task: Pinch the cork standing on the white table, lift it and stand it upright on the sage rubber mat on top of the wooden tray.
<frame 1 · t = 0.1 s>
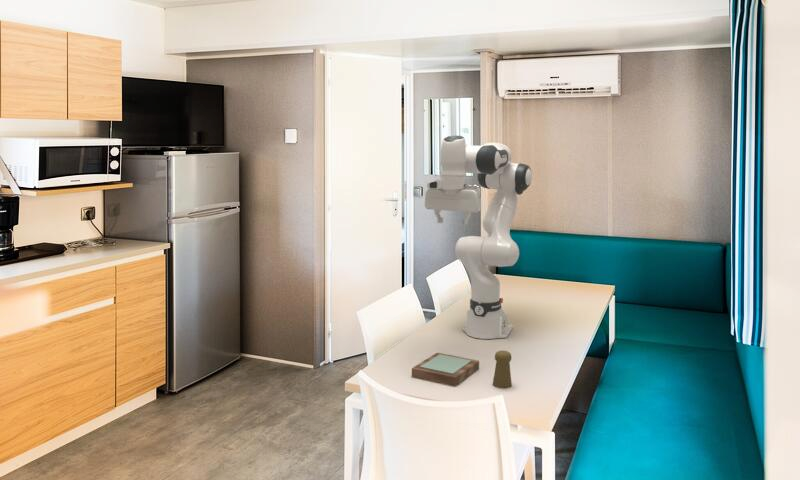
hand: (452, 223, 225), 48 cm above the table, fingers open, 8 cm apart
wooden tray: (445, 372, 217), on the table
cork: (502, 385, 207), on the table
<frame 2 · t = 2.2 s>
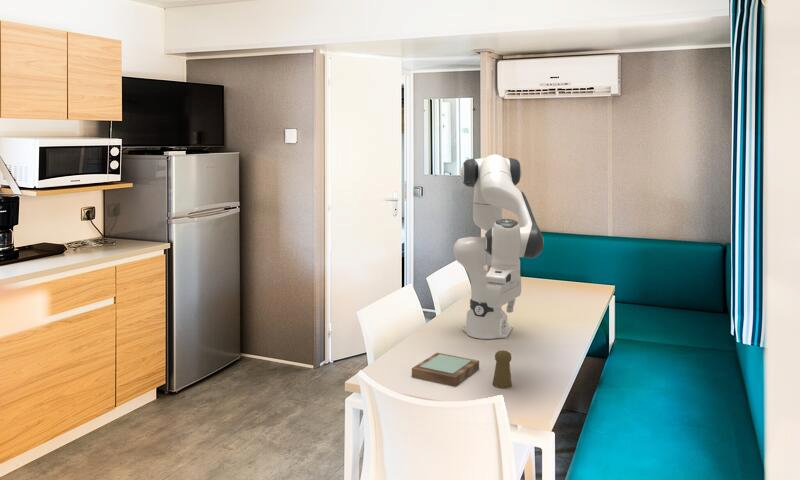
hand: (504, 315, 203), 23 cm above the table, fingers open, 8 cm apart
nothing on the table moved.
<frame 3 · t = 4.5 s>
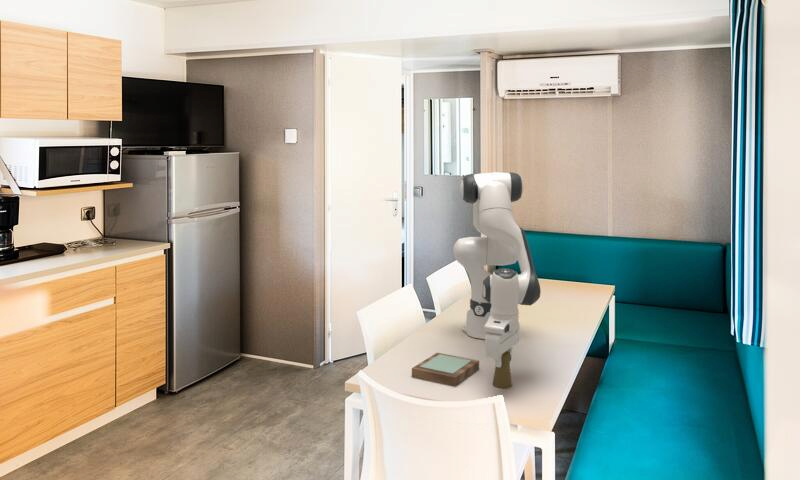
hand: (502, 363, 206), 7 cm above the table, fingers closed on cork, 5 cm apart
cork: (502, 385, 207), on the table, touching gripper
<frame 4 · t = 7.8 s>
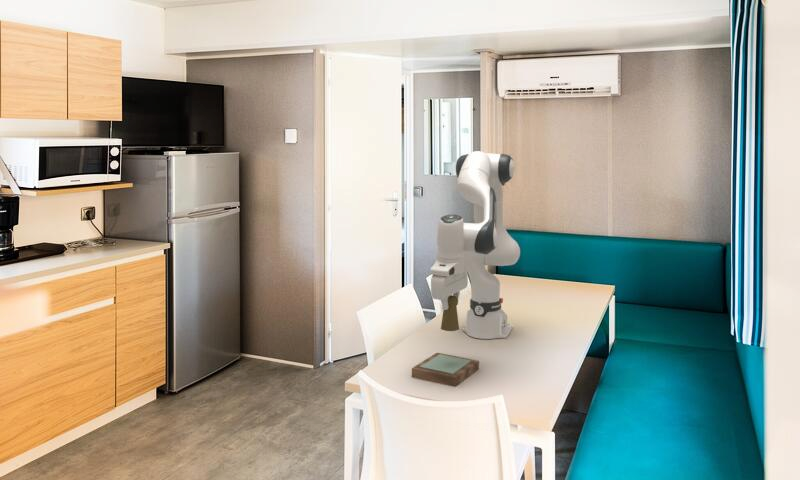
hand: (450, 306, 213), 23 cm above the table, fingers closed on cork, 5 cm apart
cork: (449, 328, 214), point 15 cm above the table, touching gripper
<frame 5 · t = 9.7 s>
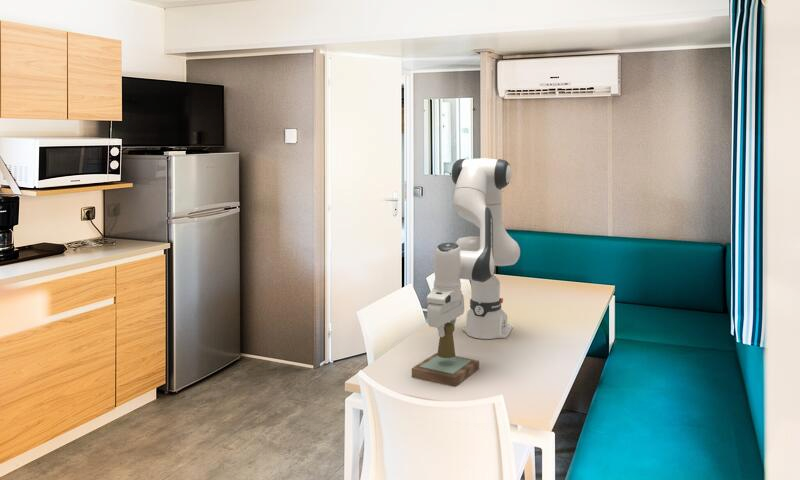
hand: (446, 333, 215), 14 cm above the table, fingers closed on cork, 5 cm apart
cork: (446, 355, 216), point 6 cm above the table, touching gripper
when the fingers open (11 cm above the table, at t = 11.1 s): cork stays where it is, resting on wooden tray.
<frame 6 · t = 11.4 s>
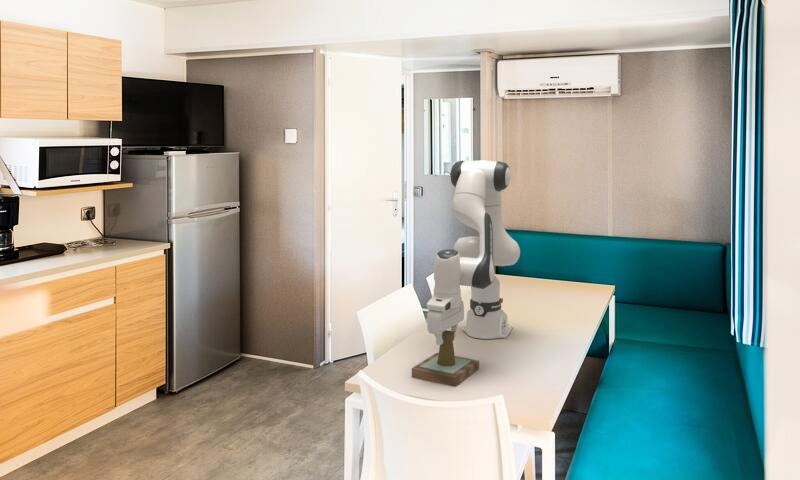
hand: (446, 340, 215), 11 cm above the table, fingers open, 8 cm apart
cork: (446, 363, 217), point 3 cm above the table, touching wooden tray
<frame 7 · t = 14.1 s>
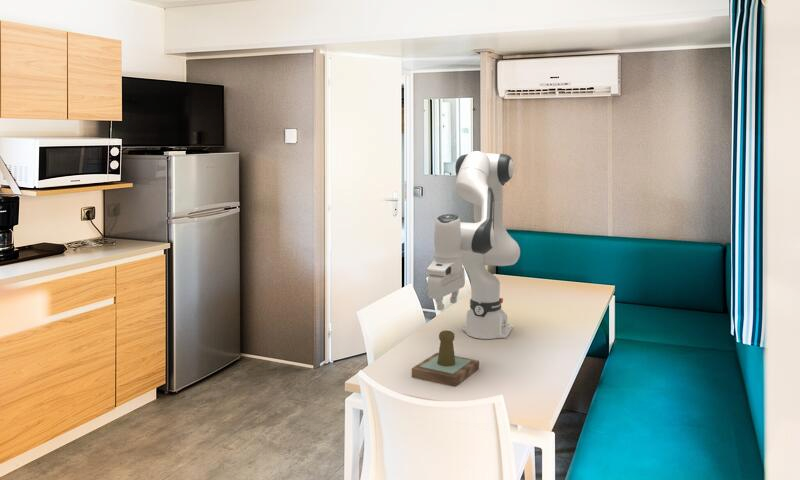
hand: (447, 306, 213), 23 cm above the table, fingers open, 8 cm apart
nothing on the table moved.
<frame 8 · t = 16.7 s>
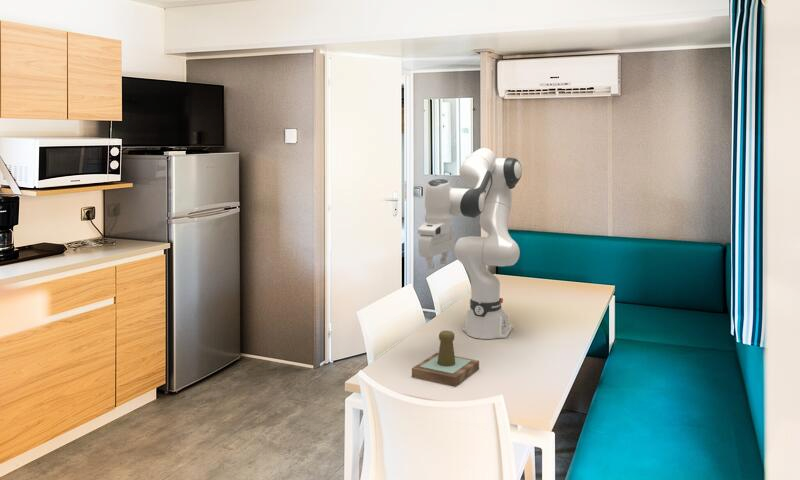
hand: (437, 266, 227), 33 cm above the table, fingers open, 8 cm apart
nothing on the table moved.
at the end: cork inside the target area on the wooden tray (0.3 cm from its centre), point 3.1 cm above the wooden tray's base; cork tilted 0°; the gripper is holding nothing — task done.
